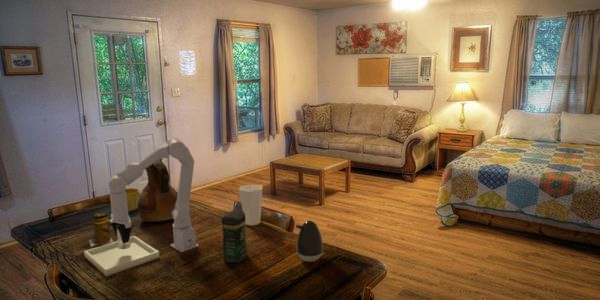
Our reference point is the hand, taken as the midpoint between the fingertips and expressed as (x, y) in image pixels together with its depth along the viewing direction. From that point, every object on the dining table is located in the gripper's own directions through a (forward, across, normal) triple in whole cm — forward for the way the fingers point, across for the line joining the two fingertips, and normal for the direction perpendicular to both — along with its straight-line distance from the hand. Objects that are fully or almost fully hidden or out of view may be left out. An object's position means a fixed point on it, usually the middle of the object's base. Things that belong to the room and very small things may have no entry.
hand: (123, 240), depth 161 cm
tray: (+7, 0, -1) cm, 7 cm away
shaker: (+3, 0, 0) cm, 3 cm away
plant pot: (+7, -53, +25) cm, 59 cm away
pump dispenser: (+7, +54, +48) cm, 72 cm away
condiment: (+7, -22, -1) cm, 23 cm away
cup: (+7, +9, +56) cm, 57 cm away
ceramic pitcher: (+7, -27, +29) cm, 40 cm away
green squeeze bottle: (+7, +33, +29) cm, 44 cm away
